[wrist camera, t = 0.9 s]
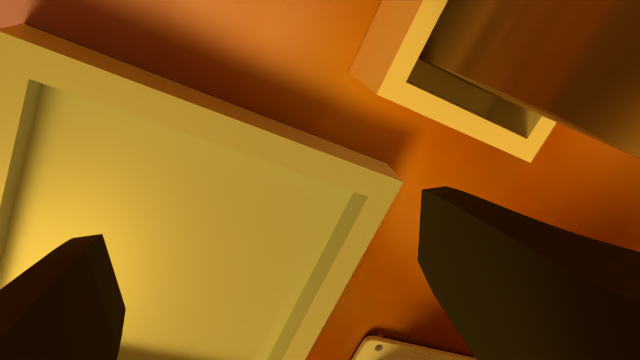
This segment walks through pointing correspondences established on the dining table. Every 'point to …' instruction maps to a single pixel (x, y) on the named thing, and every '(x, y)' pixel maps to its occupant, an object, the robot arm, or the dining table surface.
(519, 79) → the walnut peg
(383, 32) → the square open box
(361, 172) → the cream square frame
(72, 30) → the dining table surface
